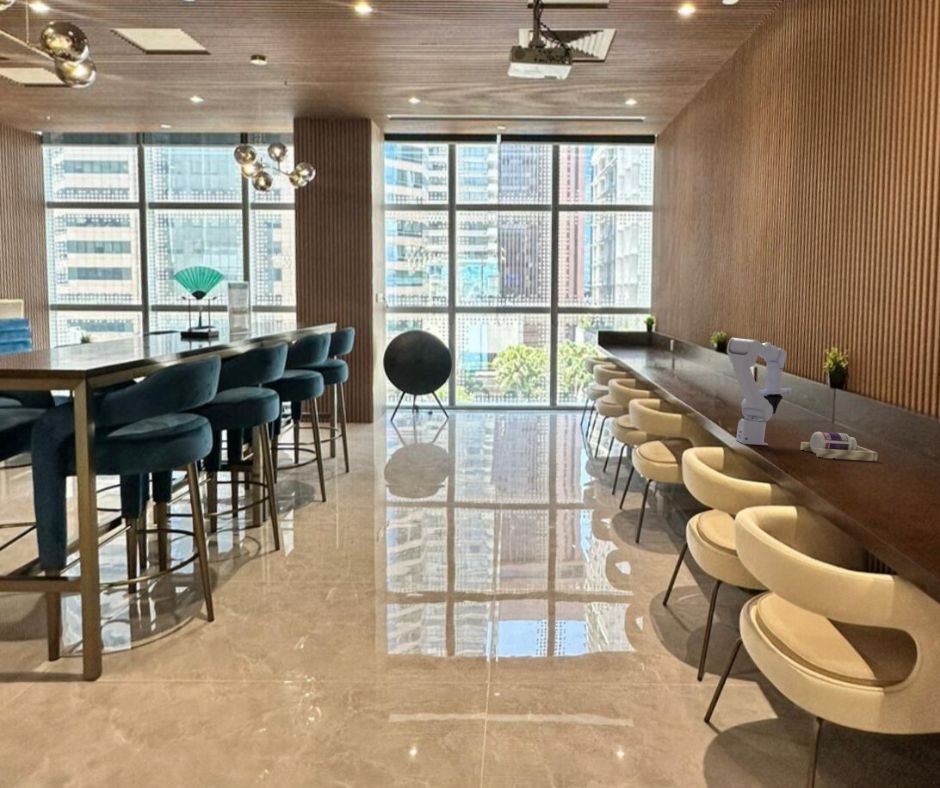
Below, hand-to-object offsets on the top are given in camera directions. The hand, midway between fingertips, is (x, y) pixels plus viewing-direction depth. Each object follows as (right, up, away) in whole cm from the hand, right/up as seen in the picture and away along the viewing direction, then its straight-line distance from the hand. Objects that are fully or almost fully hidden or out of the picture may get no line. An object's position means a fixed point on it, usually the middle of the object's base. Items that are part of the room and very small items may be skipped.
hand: (772, 413), depth 302 cm
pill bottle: (+7, -10, -21) cm, 24 cm away
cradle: (+15, -15, -20) cm, 29 cm away
